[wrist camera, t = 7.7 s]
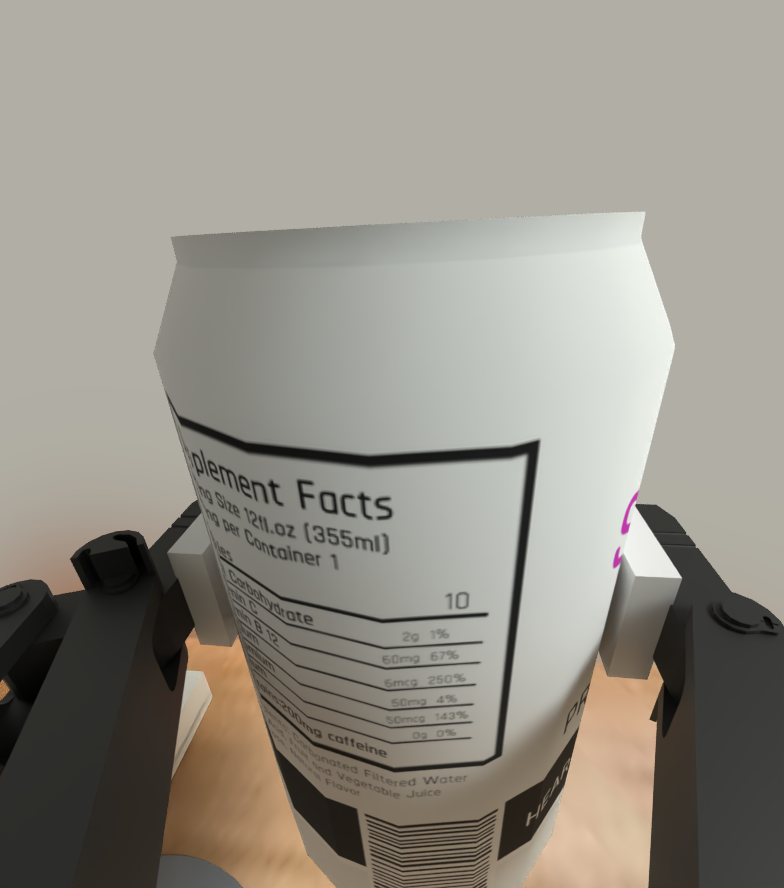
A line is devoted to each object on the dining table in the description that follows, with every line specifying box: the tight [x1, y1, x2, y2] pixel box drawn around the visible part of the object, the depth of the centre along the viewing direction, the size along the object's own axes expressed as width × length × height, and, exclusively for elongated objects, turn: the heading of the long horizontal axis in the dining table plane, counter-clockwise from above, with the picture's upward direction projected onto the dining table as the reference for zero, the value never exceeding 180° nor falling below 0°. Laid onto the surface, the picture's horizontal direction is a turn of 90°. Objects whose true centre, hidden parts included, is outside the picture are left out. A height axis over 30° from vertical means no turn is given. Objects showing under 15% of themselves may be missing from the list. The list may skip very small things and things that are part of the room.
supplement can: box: [154, 212, 675, 888], centre depth 10 cm, size 8×8×15 cm
